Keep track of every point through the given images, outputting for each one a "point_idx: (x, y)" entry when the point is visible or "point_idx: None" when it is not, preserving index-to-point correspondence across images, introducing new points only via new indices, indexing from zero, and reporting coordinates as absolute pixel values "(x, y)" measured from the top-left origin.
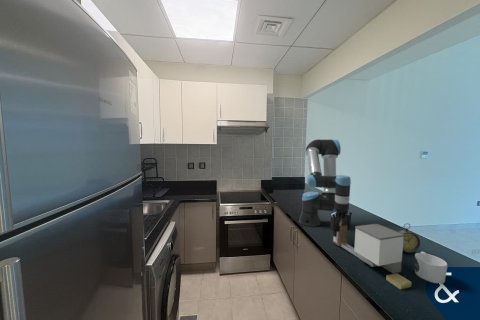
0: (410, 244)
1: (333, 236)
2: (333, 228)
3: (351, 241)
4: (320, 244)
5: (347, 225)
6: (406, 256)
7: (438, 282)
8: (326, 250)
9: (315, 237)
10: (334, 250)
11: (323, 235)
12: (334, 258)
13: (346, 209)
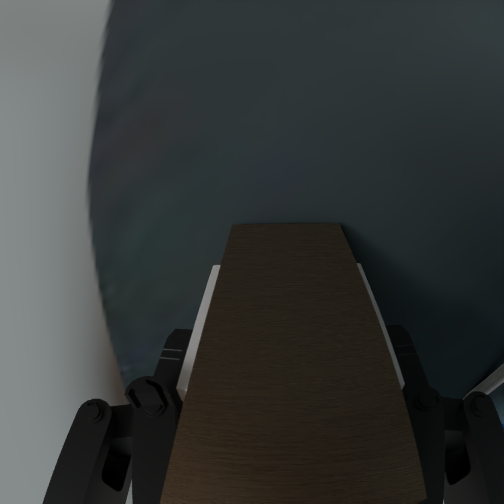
0: None
1: (220, 273)
2: (106, 468)
3: (462, 233)
4: (91, 211)
5: (486, 426)
6: (491, 397)
7: None
8: (104, 305)
9: (116, 48)
10: (166, 322)
11: (262, 3)
12: (121, 374)
13: None
